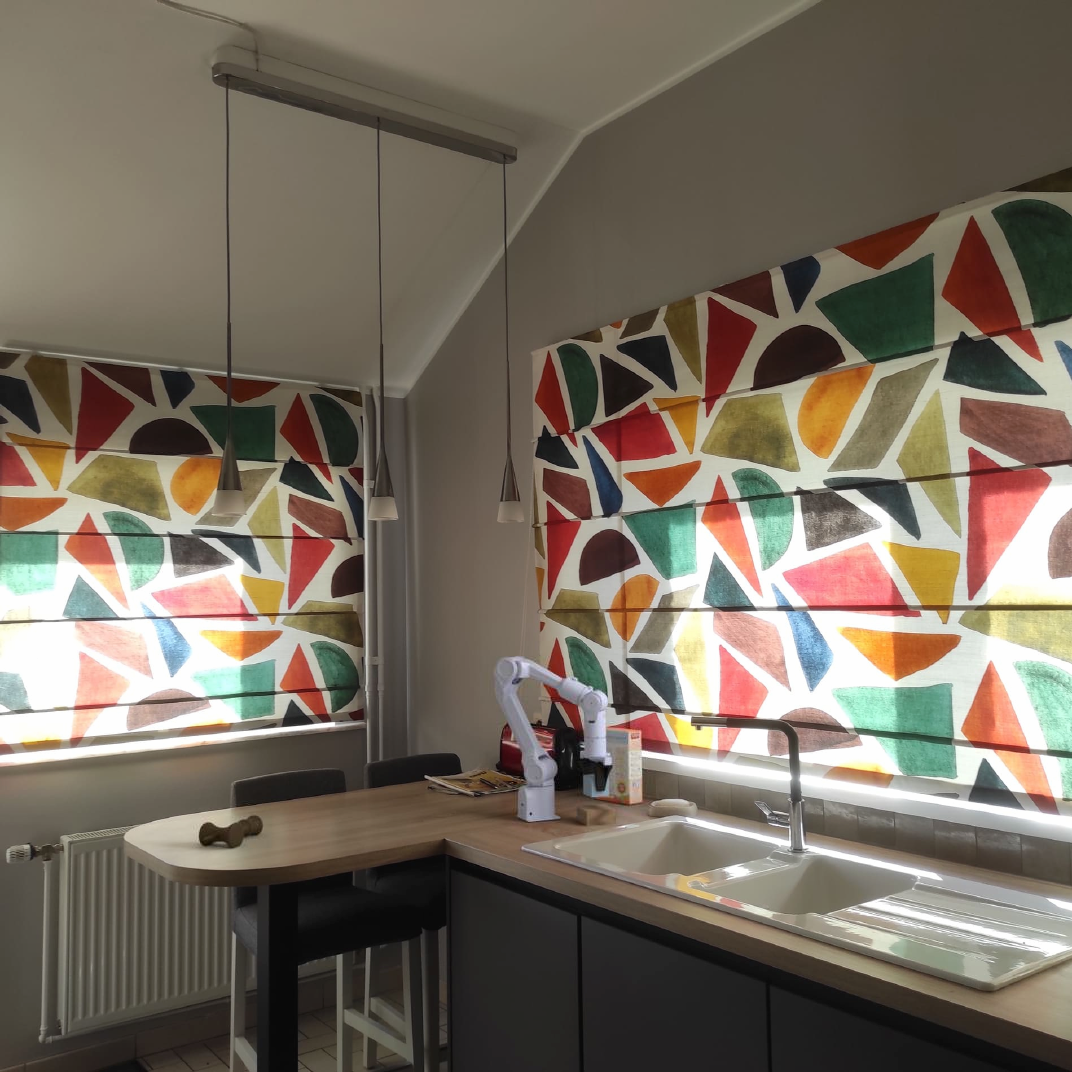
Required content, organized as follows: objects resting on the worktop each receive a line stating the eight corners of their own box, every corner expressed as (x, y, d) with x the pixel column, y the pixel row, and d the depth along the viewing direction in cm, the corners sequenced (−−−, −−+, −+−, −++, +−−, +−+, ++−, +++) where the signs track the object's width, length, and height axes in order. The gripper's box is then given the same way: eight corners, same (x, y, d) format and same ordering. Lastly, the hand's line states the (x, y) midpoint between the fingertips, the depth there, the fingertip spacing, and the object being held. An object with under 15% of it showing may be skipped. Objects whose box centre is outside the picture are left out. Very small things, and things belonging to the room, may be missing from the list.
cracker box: (643, 803, 284) (642, 729, 286) (629, 806, 280) (627, 731, 282) (609, 796, 295) (608, 725, 297) (594, 799, 291) (593, 727, 293)
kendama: (271, 837, 248) (220, 853, 229) (239, 836, 251) (186, 851, 232) (272, 813, 248) (220, 827, 230) (240, 812, 252) (187, 825, 233)
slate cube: (591, 797, 256) (591, 777, 257) (583, 794, 261) (583, 775, 261) (609, 795, 258) (608, 776, 259) (600, 792, 263) (600, 773, 263)
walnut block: (587, 827, 254) (586, 811, 254) (577, 821, 262) (576, 805, 262) (616, 825, 256) (615, 809, 257) (605, 819, 264) (605, 803, 264)
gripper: (621, 739, 256) (622, 792, 255) (596, 733, 269) (597, 784, 268) (597, 740, 253) (598, 794, 252) (572, 734, 266) (573, 786, 265)
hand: (595, 789), depth 260 cm, fingers closed on slate cube, 5 cm apart
